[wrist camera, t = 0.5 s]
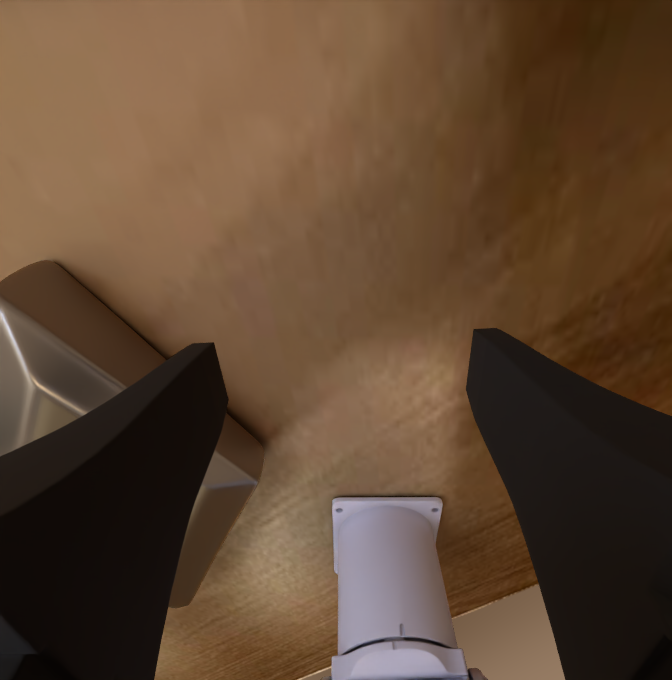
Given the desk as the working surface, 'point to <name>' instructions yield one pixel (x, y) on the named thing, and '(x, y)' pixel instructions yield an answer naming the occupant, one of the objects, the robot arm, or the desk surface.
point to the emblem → (104, 397)
